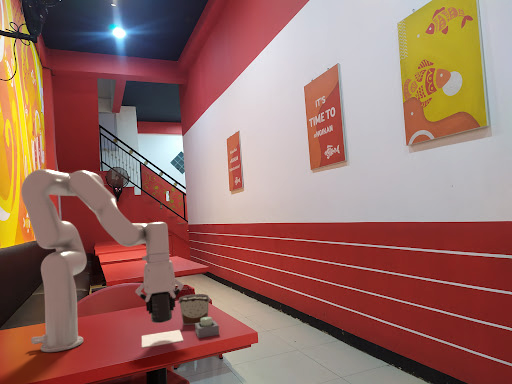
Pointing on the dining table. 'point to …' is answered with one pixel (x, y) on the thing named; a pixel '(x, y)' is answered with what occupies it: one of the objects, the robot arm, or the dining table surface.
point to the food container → (194, 308)
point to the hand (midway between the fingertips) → (161, 310)
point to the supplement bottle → (160, 307)
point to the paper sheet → (161, 338)
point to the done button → (206, 321)
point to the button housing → (207, 330)
